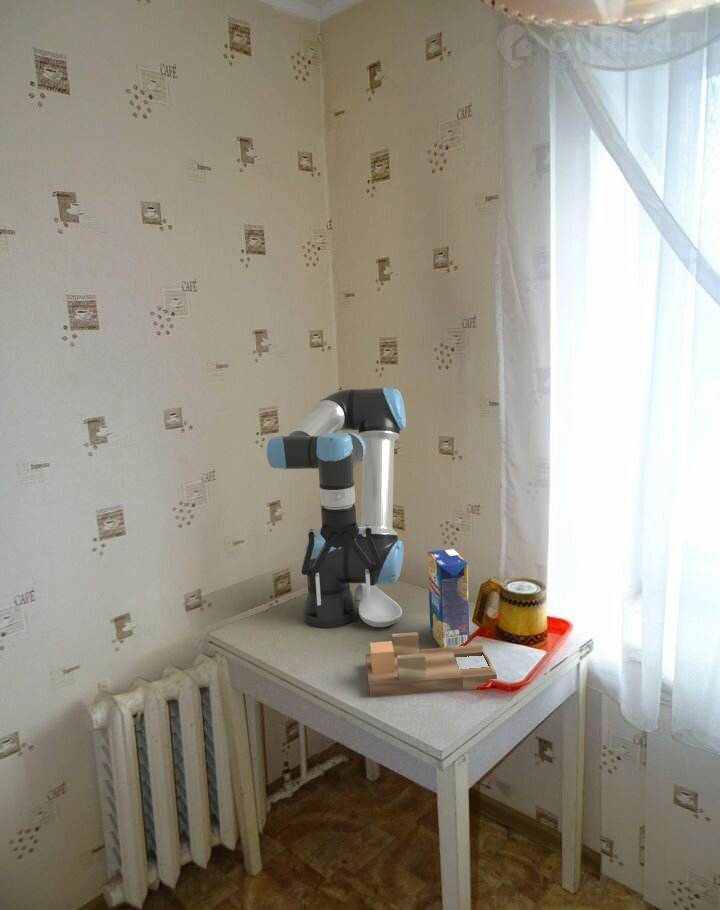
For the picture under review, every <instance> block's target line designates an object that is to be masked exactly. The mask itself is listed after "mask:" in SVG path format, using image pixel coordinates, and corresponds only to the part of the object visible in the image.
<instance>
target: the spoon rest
mask: <svg viewBox="0 0 720 910" xmlns="http://www.w3.org/2000/svg"><path fill="white" fill-rule="evenodd" d="M370 591H371V601H369V602H368V601H367V591H366V584H363V583H357V585H356V588H355V590H354V596H353V598H354V600H355V601H359V603H358V607H357V613H358V615H359V617H360V619H361V620H362V621H363V622H364V623H365V624H367V625H369V626H370V627H374V628H386V627H390V626H393V625H394V624H395V623H397V622H398V621H399V620H400V619H401V617H402V614H403V609H402V607H401V605H399V603H397V602H396V601H395V600H394V599H392V598H391V597H390V596H388V595H387V594H386V593H385V592H383V591H382V590H381V589H380V588H379V587H377V585H376V584H375V585H374V586H370Z"/></svg>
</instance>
